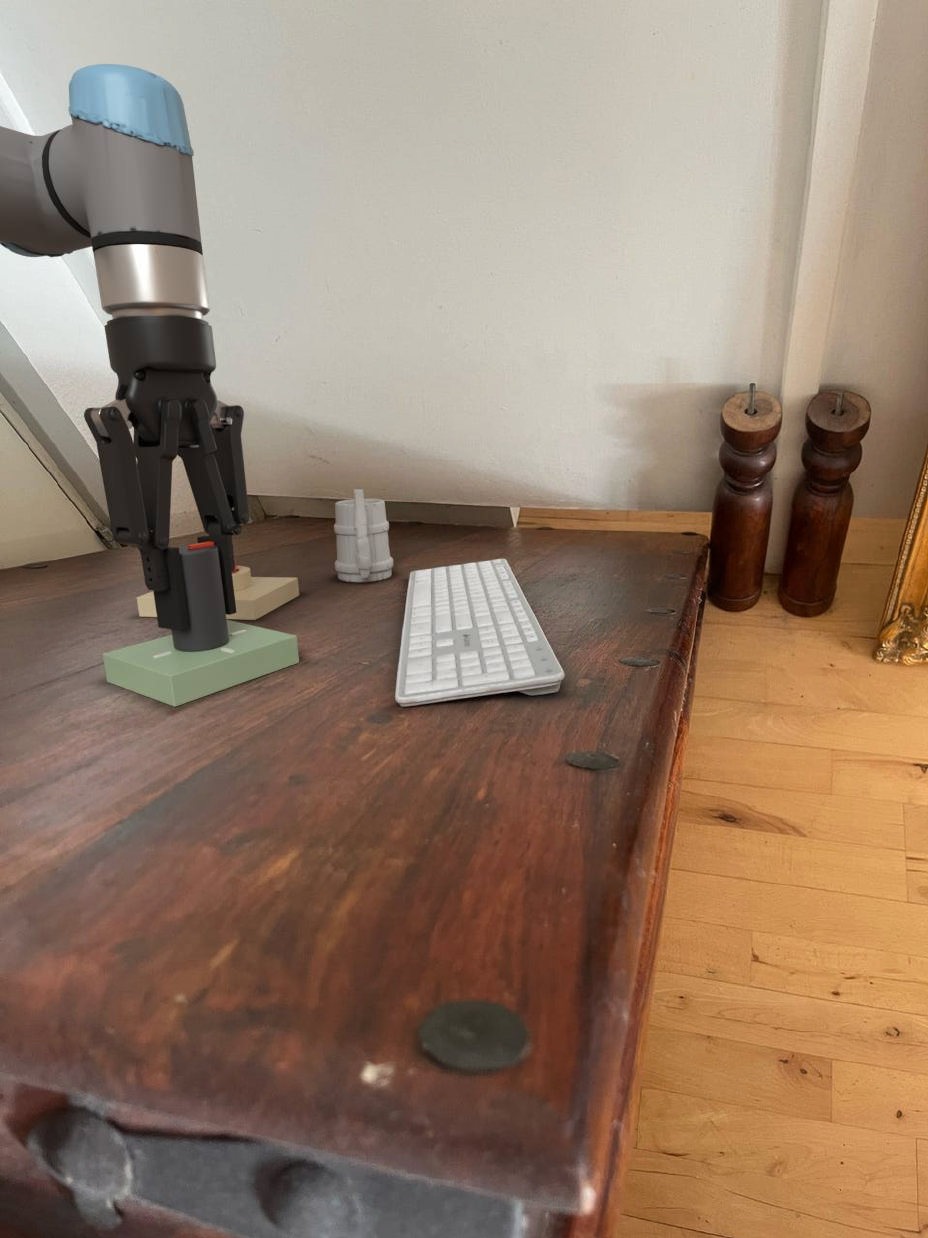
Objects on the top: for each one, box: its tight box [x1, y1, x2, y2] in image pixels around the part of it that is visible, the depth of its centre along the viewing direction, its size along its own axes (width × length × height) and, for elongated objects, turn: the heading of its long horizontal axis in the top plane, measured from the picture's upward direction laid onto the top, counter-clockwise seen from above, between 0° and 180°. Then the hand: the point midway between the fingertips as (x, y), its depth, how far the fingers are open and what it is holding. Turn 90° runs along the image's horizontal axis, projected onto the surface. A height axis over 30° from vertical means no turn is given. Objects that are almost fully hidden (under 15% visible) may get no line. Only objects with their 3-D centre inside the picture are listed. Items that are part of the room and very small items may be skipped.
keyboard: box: [394, 558, 566, 708], centre depth 75 cm, size 44×12×2 cm, turn 3°
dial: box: [170, 541, 229, 651], centre depth 61 cm, size 4×4×8 cm
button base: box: [136, 565, 300, 621], centre depth 85 cm, size 14×11×4 cm
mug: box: [333, 488, 394, 583], centre depth 95 cm, size 8×12×12 cm, turn 8°
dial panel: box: [102, 619, 300, 708], centre depth 63 cm, size 10×12×3 cm
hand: (198, 619), depth 62 cm, fingers closed on dial, 4 cm apart
